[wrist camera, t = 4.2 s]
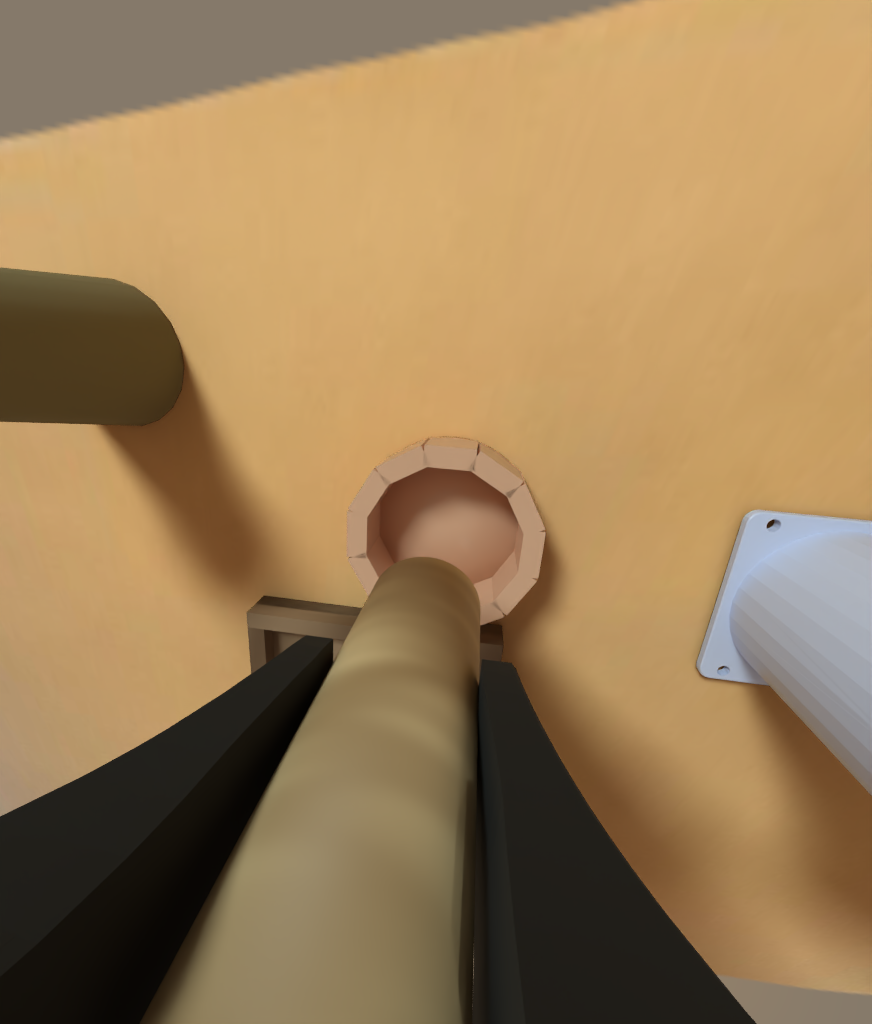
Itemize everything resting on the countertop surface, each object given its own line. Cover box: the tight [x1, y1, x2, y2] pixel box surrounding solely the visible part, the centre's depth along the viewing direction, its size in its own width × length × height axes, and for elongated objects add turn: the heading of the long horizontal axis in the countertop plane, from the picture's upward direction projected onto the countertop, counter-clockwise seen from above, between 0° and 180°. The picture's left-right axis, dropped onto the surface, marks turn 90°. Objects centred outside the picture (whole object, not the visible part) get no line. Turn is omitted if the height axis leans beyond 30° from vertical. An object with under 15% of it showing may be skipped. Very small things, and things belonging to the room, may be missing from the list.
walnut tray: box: [247, 596, 503, 679], centre depth 22 cm, size 12×12×2 cm
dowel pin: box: [139, 557, 481, 1024], centre depth 8 cm, size 3×3×9 cm
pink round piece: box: [347, 437, 546, 625], centre depth 17 cm, size 8×8×3 cm
